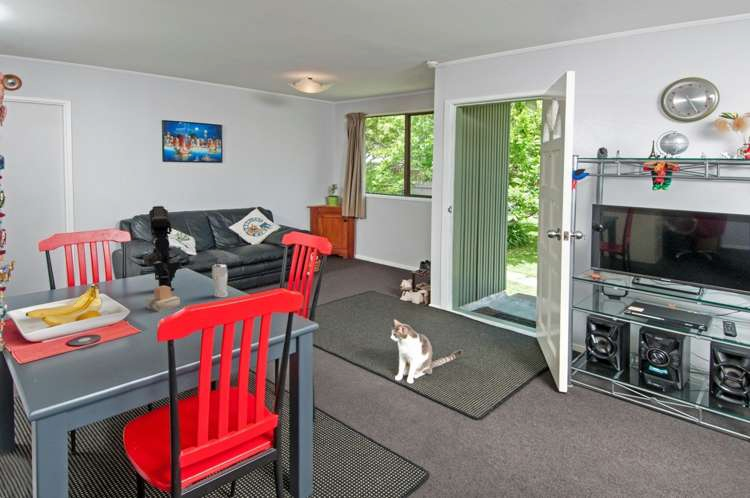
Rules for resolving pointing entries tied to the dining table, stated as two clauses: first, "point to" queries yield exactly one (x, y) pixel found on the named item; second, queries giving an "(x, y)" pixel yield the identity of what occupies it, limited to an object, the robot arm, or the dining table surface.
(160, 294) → the terracotta cube
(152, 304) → the birch block
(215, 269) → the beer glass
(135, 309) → the dining table surface
